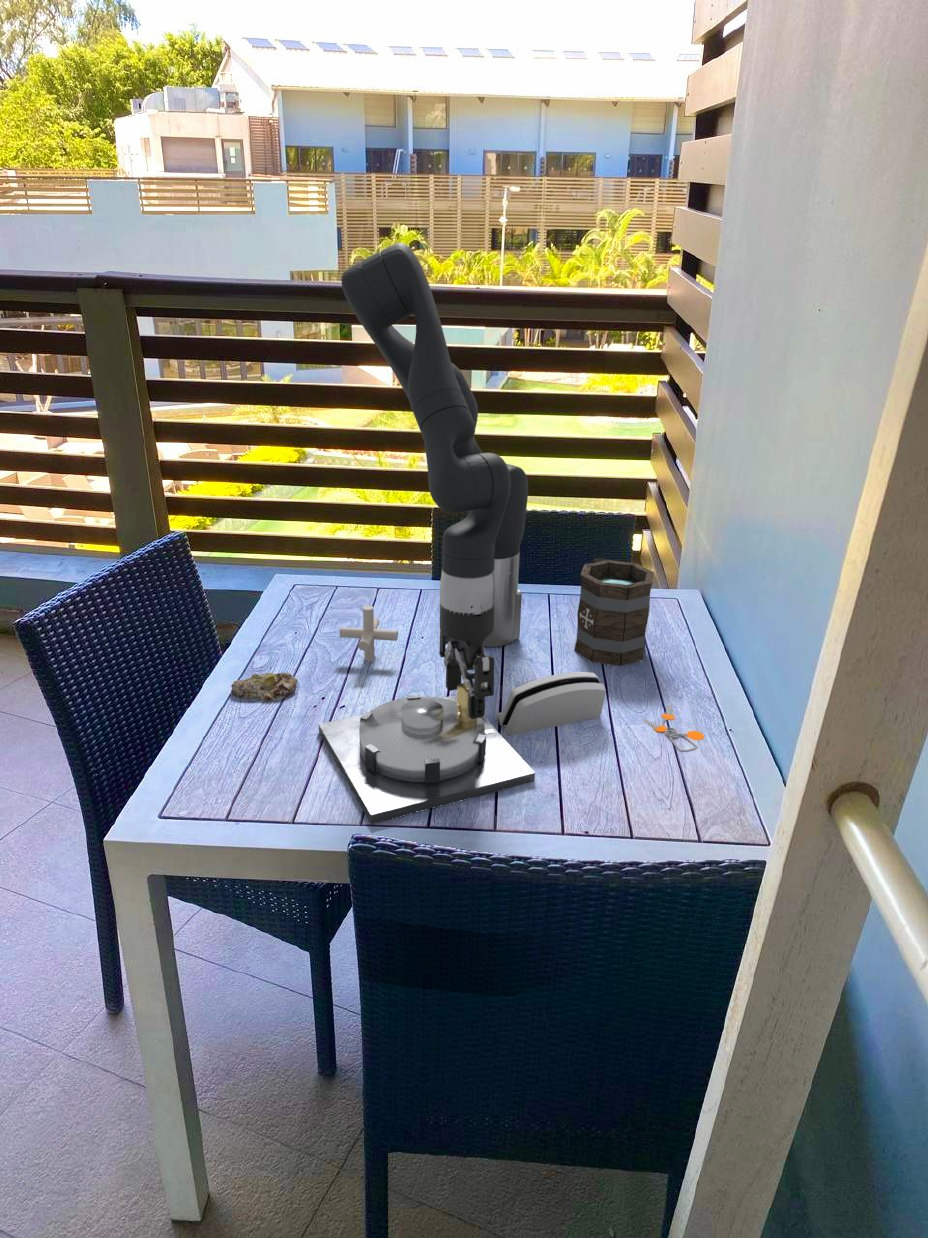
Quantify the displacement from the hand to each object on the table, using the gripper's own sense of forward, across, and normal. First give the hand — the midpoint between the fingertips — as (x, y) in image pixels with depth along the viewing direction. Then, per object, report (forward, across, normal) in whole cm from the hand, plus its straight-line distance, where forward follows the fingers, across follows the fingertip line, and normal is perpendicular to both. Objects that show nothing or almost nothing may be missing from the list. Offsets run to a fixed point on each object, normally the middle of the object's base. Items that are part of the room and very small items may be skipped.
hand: (464, 702), depth 125 cm
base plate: (+8, 0, -6) cm, 10 cm away
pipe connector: (+8, -32, -5) cm, 33 cm away
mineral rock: (+8, -28, -24) cm, 37 cm away
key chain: (+8, +7, +33) cm, 34 cm away
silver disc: (+6, 0, -6) cm, 9 cm away
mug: (+8, -24, +39) cm, 46 cm away
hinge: (+8, -2, +16) cm, 18 cm away
